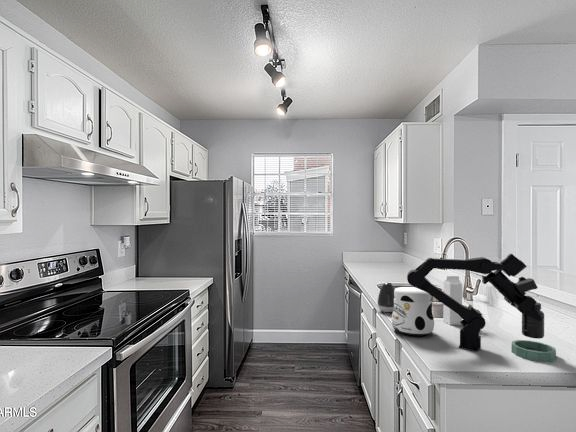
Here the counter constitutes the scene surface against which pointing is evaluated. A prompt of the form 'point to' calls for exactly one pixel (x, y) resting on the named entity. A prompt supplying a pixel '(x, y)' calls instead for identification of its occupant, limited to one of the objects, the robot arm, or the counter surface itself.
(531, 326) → the supplement bottle
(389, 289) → the black canister
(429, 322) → the milk container
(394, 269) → the counter surface
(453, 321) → the milk
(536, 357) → the cup
